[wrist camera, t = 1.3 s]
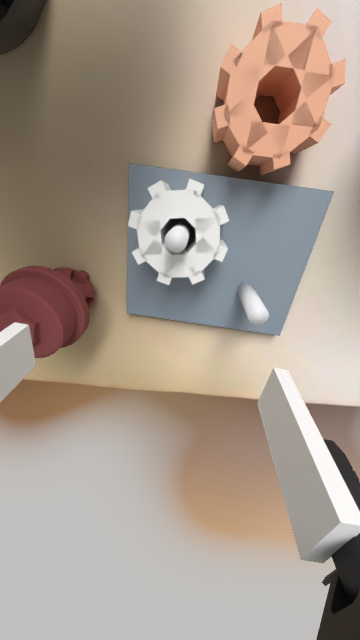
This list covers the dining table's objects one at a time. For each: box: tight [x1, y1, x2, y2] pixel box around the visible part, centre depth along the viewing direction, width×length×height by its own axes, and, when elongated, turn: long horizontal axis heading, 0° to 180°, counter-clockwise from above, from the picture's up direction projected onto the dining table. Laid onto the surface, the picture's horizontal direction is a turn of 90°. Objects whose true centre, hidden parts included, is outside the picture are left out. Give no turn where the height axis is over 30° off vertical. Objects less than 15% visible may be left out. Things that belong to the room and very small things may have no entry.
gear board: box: [127, 163, 334, 336], centre depth 26 cm, size 18×22×10 cm
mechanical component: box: [0, 266, 94, 358], centre depth 28 cm, size 12×10×10 cm
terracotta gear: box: [212, 4, 345, 176], centre depth 21 cm, size 10×10×6 cm
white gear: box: [128, 178, 229, 285], centre depth 25 cm, size 10×10×6 cm
